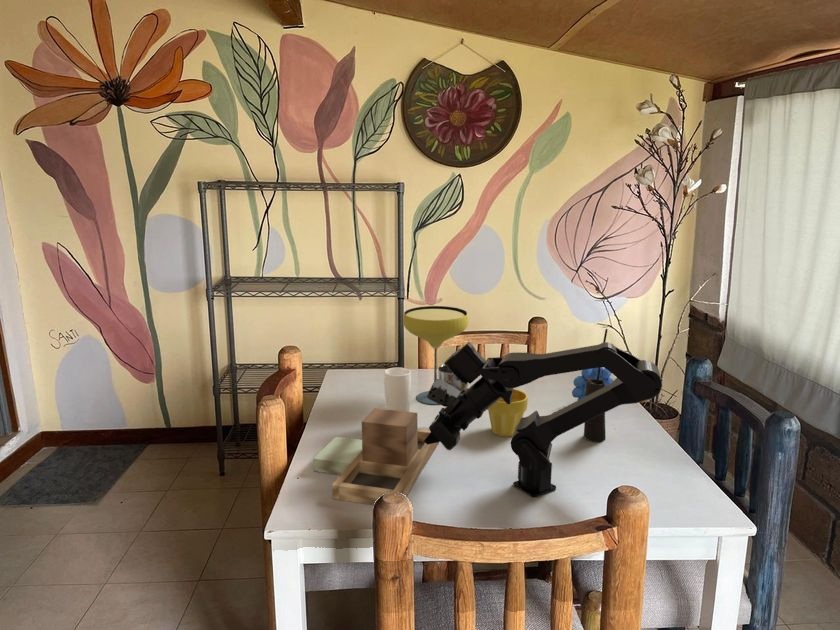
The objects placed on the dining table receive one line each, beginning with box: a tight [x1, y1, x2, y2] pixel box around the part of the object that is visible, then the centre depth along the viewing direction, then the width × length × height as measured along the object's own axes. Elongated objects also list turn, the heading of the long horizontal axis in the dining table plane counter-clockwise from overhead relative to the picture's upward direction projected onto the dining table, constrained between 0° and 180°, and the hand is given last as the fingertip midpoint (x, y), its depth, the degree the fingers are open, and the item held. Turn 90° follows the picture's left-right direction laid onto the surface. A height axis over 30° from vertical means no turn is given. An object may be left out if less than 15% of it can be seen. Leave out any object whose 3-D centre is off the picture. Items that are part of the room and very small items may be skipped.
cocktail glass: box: [402, 305, 469, 406], centre depth 181 cm, size 18×18×25 cm
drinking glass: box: [383, 367, 412, 412], centre depth 162 cm, size 7×7×15 cm
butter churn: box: [583, 328, 608, 443], centre depth 155 cm, size 9×10×28 cm
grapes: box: [571, 367, 614, 401], centre depth 178 cm, size 12×7×12 cm, turn 97°
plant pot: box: [486, 388, 529, 438], centre depth 160 cm, size 10×10×10 cm
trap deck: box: [313, 428, 440, 506], centre depth 143 cm, size 23×32×3 cm
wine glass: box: [437, 364, 470, 430], centre depth 164 cm, size 8×8×15 cm
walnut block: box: [361, 407, 418, 466], centre depth 140 cm, size 10×8×9 cm
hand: (425, 442), depth 138 cm, fingers closed
